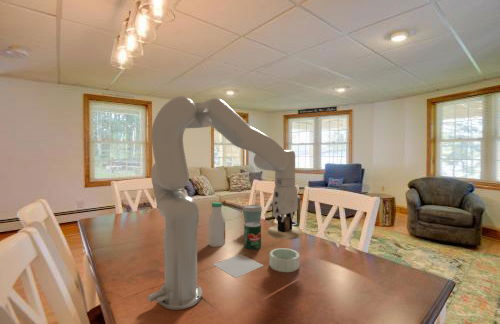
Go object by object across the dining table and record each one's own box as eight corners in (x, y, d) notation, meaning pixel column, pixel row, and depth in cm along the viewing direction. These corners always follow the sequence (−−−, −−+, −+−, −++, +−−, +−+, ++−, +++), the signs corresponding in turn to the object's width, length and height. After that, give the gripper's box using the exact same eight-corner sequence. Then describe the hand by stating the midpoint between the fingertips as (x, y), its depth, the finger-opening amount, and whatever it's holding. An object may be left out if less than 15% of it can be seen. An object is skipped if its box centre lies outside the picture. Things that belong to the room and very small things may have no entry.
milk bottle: (222, 248, 115) (222, 204, 114) (206, 247, 117) (206, 204, 116) (227, 242, 123) (227, 201, 122) (212, 241, 124) (211, 200, 123)
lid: (287, 242, 88) (287, 225, 88) (260, 233, 97) (260, 217, 97) (308, 233, 97) (309, 218, 96) (282, 225, 106) (282, 211, 106)
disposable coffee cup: (239, 234, 134) (239, 206, 133) (246, 228, 144) (246, 202, 143) (258, 237, 130) (259, 208, 129) (264, 230, 140) (264, 204, 140)
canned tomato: (252, 252, 111) (253, 227, 110) (240, 247, 116) (240, 224, 116) (264, 247, 117) (264, 223, 116) (252, 243, 122) (252, 220, 121)
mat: (235, 279, 88) (235, 277, 88) (212, 265, 98) (212, 264, 98) (264, 266, 97) (264, 265, 97) (240, 255, 107) (240, 254, 107)
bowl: (286, 276, 90) (286, 262, 90) (264, 266, 98) (264, 253, 98) (304, 266, 97) (304, 254, 97) (282, 257, 105) (282, 246, 105)
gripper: (278, 185, 88) (278, 238, 89) (306, 181, 99) (305, 227, 100) (262, 183, 93) (262, 232, 94) (290, 179, 104) (290, 223, 105)
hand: (284, 229), depth 97 cm, fingers closed on lid, 3 cm apart
